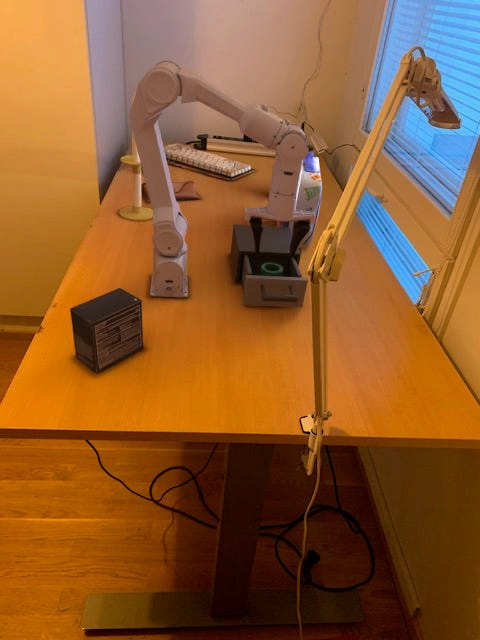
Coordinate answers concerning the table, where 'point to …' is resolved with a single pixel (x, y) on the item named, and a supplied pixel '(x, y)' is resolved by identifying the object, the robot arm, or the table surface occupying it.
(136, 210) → the candle
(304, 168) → the lunch box
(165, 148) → the mechanical keyboard
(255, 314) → the table surface
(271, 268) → the jar
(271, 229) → the drawer cabinet
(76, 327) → the small box
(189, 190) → the sunglasses case
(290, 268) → the dish drawer
